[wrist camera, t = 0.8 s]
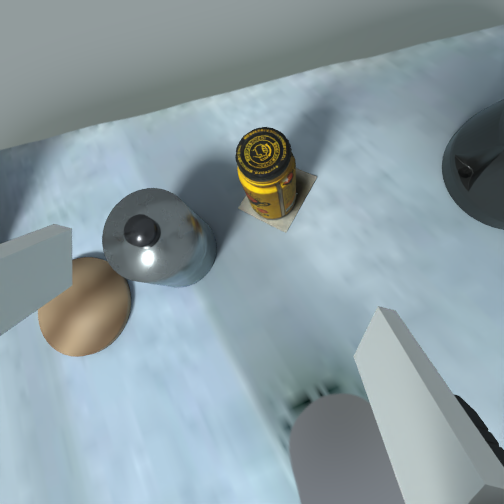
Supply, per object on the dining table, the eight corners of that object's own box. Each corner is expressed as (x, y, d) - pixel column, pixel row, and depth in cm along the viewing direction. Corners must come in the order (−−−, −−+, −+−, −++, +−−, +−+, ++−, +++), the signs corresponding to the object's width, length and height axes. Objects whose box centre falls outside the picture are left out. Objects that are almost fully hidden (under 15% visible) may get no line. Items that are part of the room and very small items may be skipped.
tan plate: (149, 293, 38) (145, 292, 37) (90, 376, 37) (84, 378, 36) (83, 240, 41) (78, 239, 40) (27, 316, 40) (20, 316, 39)
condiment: (238, 208, 38) (212, 166, 27) (268, 156, 39) (257, 92, 27) (286, 233, 37) (281, 199, 25) (317, 177, 37) (326, 119, 26)
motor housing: (231, 239, 37) (207, 214, 27) (186, 302, 37) (145, 301, 27) (174, 201, 40) (132, 165, 30) (131, 260, 39) (73, 243, 29)
